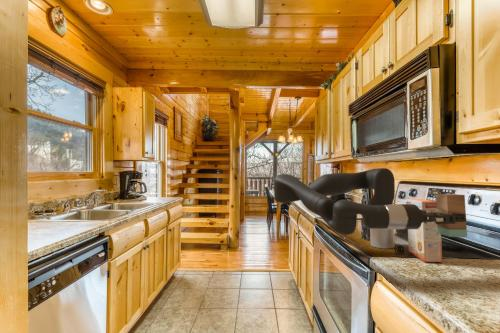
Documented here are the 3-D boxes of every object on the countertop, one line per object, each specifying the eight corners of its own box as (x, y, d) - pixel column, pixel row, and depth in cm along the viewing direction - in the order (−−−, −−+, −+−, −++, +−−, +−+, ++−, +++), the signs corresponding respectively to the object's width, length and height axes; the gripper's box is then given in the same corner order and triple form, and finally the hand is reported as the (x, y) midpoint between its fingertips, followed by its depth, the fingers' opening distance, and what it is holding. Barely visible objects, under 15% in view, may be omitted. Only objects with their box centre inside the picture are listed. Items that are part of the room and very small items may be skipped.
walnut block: (452, 194, 82) (454, 233, 81) (435, 194, 82) (437, 233, 81) (464, 194, 77) (467, 236, 76) (446, 195, 77) (449, 236, 76)
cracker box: (444, 263, 88) (440, 201, 89) (424, 262, 89) (420, 201, 90) (425, 252, 102) (422, 198, 103) (408, 251, 103) (405, 198, 104)
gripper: (389, 225, 87) (443, 224, 86) (413, 233, 72) (478, 233, 71) (388, 202, 87) (441, 201, 86) (411, 206, 73) (476, 206, 72)
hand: (457, 216), depth 79 cm, fingers closed on walnut block, 5 cm apart
